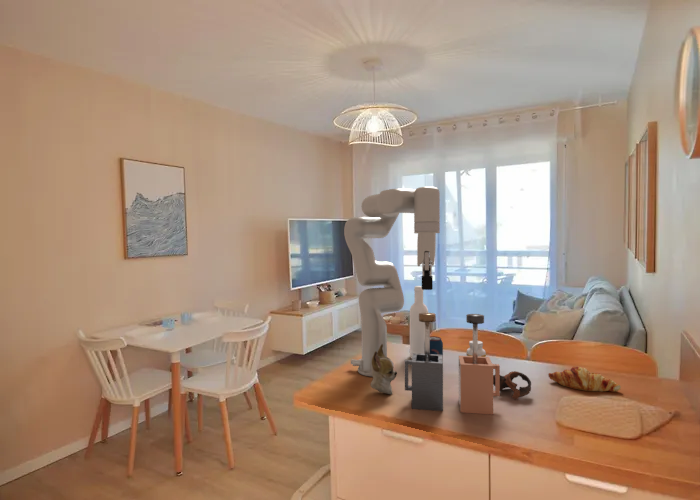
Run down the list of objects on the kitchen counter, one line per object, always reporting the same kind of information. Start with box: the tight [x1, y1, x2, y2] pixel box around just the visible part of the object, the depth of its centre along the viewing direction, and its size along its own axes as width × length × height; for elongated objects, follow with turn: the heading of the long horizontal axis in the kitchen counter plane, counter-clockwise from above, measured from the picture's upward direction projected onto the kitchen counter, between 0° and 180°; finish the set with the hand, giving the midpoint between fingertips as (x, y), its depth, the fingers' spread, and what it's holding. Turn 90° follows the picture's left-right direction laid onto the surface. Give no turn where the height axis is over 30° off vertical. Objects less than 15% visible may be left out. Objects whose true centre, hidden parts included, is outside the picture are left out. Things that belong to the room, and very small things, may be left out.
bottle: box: [409, 285, 429, 359], centre depth 174 cm, size 8×8×30 cm
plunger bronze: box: [419, 312, 437, 362], centre depth 125 cm, size 6×6×18 cm
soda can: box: [430, 335, 444, 360], centre depth 159 cm, size 7×7×12 cm
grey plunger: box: [465, 313, 485, 364], centre depth 123 cm, size 6×6×18 cm
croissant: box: [547, 366, 622, 393], centre depth 139 cm, size 21×10×8 cm, turn 62°
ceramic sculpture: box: [370, 344, 398, 395], centre depth 134 cm, size 11×9×15 cm
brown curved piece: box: [493, 370, 532, 400], centre depth 133 cm, size 12×10×8 cm
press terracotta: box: [458, 355, 501, 415], centre depth 123 cm, size 11×9×14 cm
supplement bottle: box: [466, 340, 487, 357], centre depth 149 cm, size 7×7×13 cm
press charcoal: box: [404, 354, 444, 412], centre depth 126 cm, size 11×9×14 cm
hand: (427, 289), depth 125 cm, fingers closed
